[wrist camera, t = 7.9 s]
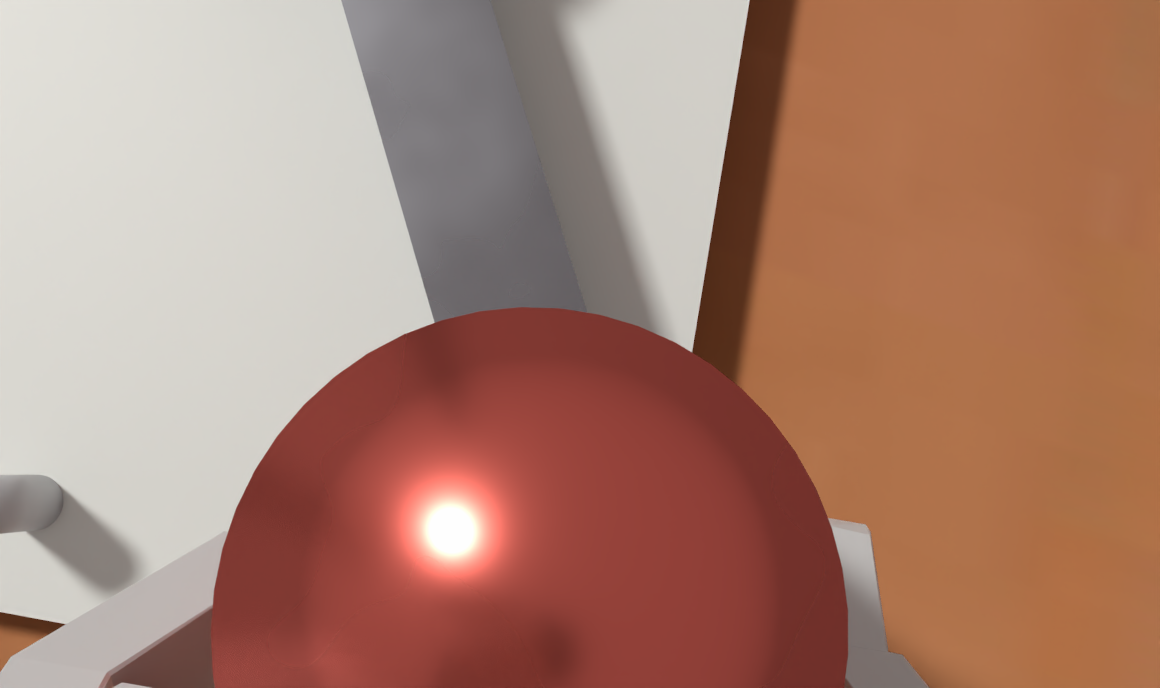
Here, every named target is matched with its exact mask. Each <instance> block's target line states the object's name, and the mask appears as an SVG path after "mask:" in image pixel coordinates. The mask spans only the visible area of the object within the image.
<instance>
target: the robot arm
mask: <svg viewBox="0 0 1160 688" xmlns="http://www.w3.org/2000/svg"><path fill="white" fill-rule="evenodd" d="M828 520H829V522H830V525H831V527H832V531H833V534H834V538H835V542H836V546H837V550H838V553H839V557H840V561H841V565H842V569H843V576H844V584H845V591H846V599H847V606H848V660H847V668H846V676H845V684H844V688H929V687H928V685H927V684H926V683H925V682H924V680H923V679H922V678H921V677H920V676H919V674H918V673H917V672H916V671H915V669H914V668H913V667H912V666H911V664H910V663H909V662H908V661H907V660H906V658H905V657H904V656H903V655H901V654H896V653H891V652H888V646H887V639H886V632H885V625H884V619H883V612H882V605H881V598H880V591H879V585H878V578H877V571H876V564H875V557H874V551H873V544H872V537H871V532H870V530H869V529H868V527H867V526H866V524H860V523H854V522H848V521H842V520H836V519H830V518H828ZM227 534H228V532H226V531H223V532H222V533H220V534H218V535H217V536H215V537H213V538H211V539H210V540H208V541H206V542H205V543H203V544H201V545H200V546H198V547H196V548H194V549H193V550H191V551H189V552H188V553H186V554H184V555H183V556H181V557H179V558H178V559H176V560H174V561H172V562H171V563H169V564H167V565H166V566H164V567H162V568H161V569H159V570H157V571H156V572H154V573H152V574H150V575H149V576H147V577H145V578H144V579H142V580H140V581H139V582H137V583H135V584H133V585H132V586H130V587H128V588H127V589H125V590H123V591H122V592H120V593H118V594H117V595H115V596H113V597H111V598H110V599H108V600H106V601H105V602H103V603H101V604H100V605H98V606H96V607H95V608H93V609H91V610H89V611H88V612H86V613H84V614H83V615H81V616H79V617H78V618H76V619H74V620H72V621H71V622H69V623H67V624H66V625H64V626H62V627H61V628H59V629H57V630H56V631H54V632H52V633H50V634H49V635H47V636H45V637H44V638H42V639H40V640H39V641H37V642H35V643H34V644H32V645H30V646H28V647H27V648H25V649H23V650H22V651H20V652H18V653H17V654H15V655H13V656H11V658H10V659H9V660H8V662H7V663H6V665H5V666H4V668H3V669H2V671H1V672H0V688H215V685H214V680H213V670H212V650H211V621H212V608H213V595H214V587H215V582H216V577H217V573H218V568H219V563H220V558H221V553H222V548H223V545H224V542H225V539H226V537H227Z"/></svg>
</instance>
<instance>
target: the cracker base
mask: <svg viewBox="0 0 1160 688" xmlns="http://www.w3.org/2000/svg"><path fill="white" fill-rule="evenodd" d="M490 1H491V4H492V7H493V10H494V13H495V17H496V20H497V23H498V26H499V30H500V33H501V36H502V39H503V42H504V46H505V49H506V52H507V55H508V59H509V62H510V65H511V68H512V71H513V75H514V78H515V81H516V84H517V88H518V91H519V94H520V97H521V100H522V104H523V107H524V110H525V113H526V117H527V120H528V123H529V126H530V129H531V133H532V136H533V139H534V142H535V146H536V149H537V152H538V155H539V158H540V162H541V165H542V168H543V171H544V175H545V178H546V181H547V184H548V187H549V191H550V194H551V197H552V200H553V204H554V207H555V210H556V213H557V216H558V220H559V223H560V226H561V229H562V233H563V236H564V239H565V242H566V245H567V249H568V252H569V255H570V258H571V262H572V265H573V268H574V271H575V274H576V278H577V281H578V284H579V287H580V291H581V294H582V297H583V300H584V303H585V307H586V310H587V313H593V314H599V315H603V316H606V317H609V318H613V319H616V320H620V321H623V322H626V323H630V324H633V325H637V326H639V327H642V328H644V329H646V330H648V331H651V332H653V333H655V334H657V335H660V336H662V337H664V338H667V339H669V340H671V341H673V342H675V343H677V344H679V345H680V346H682V347H684V348H685V349H687V350H689V351H690V352H692V350H693V343H694V337H695V331H696V325H697V319H698V313H699V307H700V301H701V295H702V288H703V282H704V276H705V270H706V264H707V258H708V252H709V246H710V240H711V233H712V227H713V221H714V215H715V209H716V203H717V197H718V191H719V184H720V178H721V172H722V166H723V160H724V154H725V148H726V142H727V136H728V129H729V123H730V117H731V111H732V105H733V99H734V93H735V87H736V81H737V74H738V68H739V62H740V56H741V50H742V44H743V38H744V32H745V26H746V19H747V13H748V7H749V1H750V0H490ZM433 323H435V322H434V319H433V316H432V312H431V309H430V305H429V302H428V298H427V295H426V291H425V288H424V284H423V281H422V278H421V274H420V271H419V267H418V264H417V260H416V257H415V253H414V250H413V246H412V243H411V240H410V236H409V233H408V229H407V226H406V222H405V219H404V215H403V212H402V208H401V205H400V202H399V198H398V195H397V191H396V188H395V184H394V181H393V177H392V174H391V170H390V167H389V163H388V160H387V157H386V153H385V150H384V146H383V143H382V139H381V136H380V132H379V129H378V125H377V122H376V119H375V115H374V112H373V108H372V105H371V101H370V98H369V94H368V91H367V87H366V84H365V81H364V77H363V74H362V70H361V67H360V63H359V60H358V56H357V53H356V49H355V46H354V43H353V39H352V36H351V32H350V29H349V25H348V22H347V18H346V15H345V11H344V8H343V5H342V1H341V0H0V612H3V613H9V614H14V615H19V616H25V617H30V618H35V619H41V620H46V621H52V622H57V623H62V624H67V623H69V622H71V621H72V620H74V619H76V618H78V617H79V616H81V615H83V614H84V613H86V612H88V611H89V610H91V609H93V608H95V607H96V606H98V605H100V604H101V603H103V602H105V601H106V600H108V599H110V598H111V597H113V596H115V595H117V594H118V593H120V592H122V591H123V590H125V589H127V588H128V587H130V586H132V585H133V584H135V583H137V582H139V581H140V580H142V579H144V578H145V577H147V576H149V575H150V574H152V573H154V572H156V571H157V570H159V569H161V568H162V567H164V566H166V565H167V564H169V563H171V562H172V561H174V560H176V559H178V558H179V557H181V556H183V555H184V554H186V553H188V552H189V551H191V550H193V549H194V548H196V547H198V546H200V545H201V544H203V543H205V542H206V541H208V540H210V539H211V538H213V537H215V536H217V535H218V534H220V533H222V532H223V531H226V532H228V531H229V528H230V525H231V522H232V519H233V516H234V513H235V510H236V508H237V506H238V503H239V501H240V499H241V497H242V495H243V493H244V491H245V489H246V487H247V485H248V483H249V481H250V479H251V477H252V475H253V473H254V471H255V469H256V468H257V466H258V465H259V463H260V462H261V460H262V458H263V457H264V455H265V454H266V452H267V451H268V449H269V448H270V446H271V445H272V443H273V442H274V440H275V439H276V437H277V436H278V434H279V433H280V432H281V431H282V430H283V429H284V427H285V426H286V425H287V424H288V423H289V422H290V420H291V419H292V418H293V417H294V416H295V414H296V413H297V412H298V411H299V410H300V409H301V407H302V406H303V405H304V404H305V403H306V402H307V401H308V400H309V399H311V398H312V397H313V396H314V395H315V394H316V393H317V392H318V391H319V390H320V389H322V388H323V387H324V386H325V385H326V384H327V383H328V382H329V381H330V380H331V379H333V378H334V377H335V376H336V375H338V374H339V373H340V372H342V371H343V370H345V369H346V368H348V367H349V366H350V365H352V364H353V363H355V362H356V361H358V360H359V359H360V358H362V357H363V356H365V355H366V354H368V353H369V352H371V351H373V350H375V349H377V348H379V347H381V346H383V345H385V344H386V343H388V342H390V341H392V340H394V339H396V338H398V337H400V336H402V335H403V334H406V333H409V332H411V331H414V330H417V329H419V328H422V327H425V326H428V325H430V324H433Z"/></svg>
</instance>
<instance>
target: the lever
mask: <svg viewBox="0 0 1160 688" xmlns="http://www.w3.org/2000/svg"><path fill="white" fill-rule="evenodd" d="M341 1H342V5H343V8H344V11H345V15H346V18H347V22H348V25H349V29H350V32H351V36H352V39H353V43H354V46H355V49H356V53H357V56H358V60H359V63H360V67H361V70H362V74H363V77H364V81H365V84H366V87H367V91H368V94H369V98H370V101H371V105H372V108H373V112H374V115H375V119H376V122H377V125H378V129H379V132H380V136H381V139H382V143H383V146H384V150H385V153H386V157H387V160H388V163H389V167H390V170H391V174H392V177H393V181H394V184H395V188H396V191H397V195H398V198H399V202H400V205H401V208H402V212H403V215H404V219H405V222H406V226H407V229H408V233H409V236H410V240H411V243H412V246H413V250H414V253H415V257H416V260H417V264H418V267H419V271H420V274H421V278H422V281H423V284H424V288H425V291H426V295H427V298H428V302H429V305H430V309H431V312H432V316H433V319H434V322H435V323H433V324H430V325H428V326H425V327H422V328H419V329H417V330H414V331H411V332H409V333H406V334H403V335H402V336H400V337H398V338H396V339H394V340H392V341H390V342H388V343H386V344H385V345H383V346H381V347H379V348H377V349H375V350H373V351H371V352H369V353H368V354H366V355H365V356H363V357H362V358H360V359H359V360H358V361H356V362H355V363H353V364H352V365H350V366H349V367H348V368H346V369H345V370H343V371H342V372H340V373H339V374H338V375H336V376H335V377H334V378H333V379H331V380H330V381H329V382H328V383H327V384H326V385H325V386H324V387H323V388H322V389H320V390H319V391H318V392H317V393H316V394H315V395H314V396H313V397H312V398H311V399H309V400H308V401H307V402H306V403H305V404H304V405H303V406H302V407H301V409H300V410H299V411H298V412H297V413H296V414H295V416H294V417H293V418H292V419H291V420H290V422H289V423H288V424H287V425H286V426H285V427H284V429H283V430H282V431H281V432H280V433H279V434H278V436H277V437H276V439H275V440H274V442H273V443H272V445H271V446H270V448H269V449H268V451H267V452H266V454H265V455H264V457H263V458H262V460H261V462H260V463H259V465H258V466H257V468H256V469H255V471H254V473H253V475H252V477H251V479H250V481H249V483H248V485H247V487H246V489H245V491H244V493H243V495H242V497H241V499H240V501H239V503H238V506H237V508H236V510H235V513H234V516H233V519H232V522H231V525H230V528H229V531H228V534H227V537H226V539H225V542H224V545H223V548H222V553H221V558H220V563H219V568H218V573H217V577H216V582H215V587H214V595H213V608H212V621H211V650H212V670H213V680H214V685H215V688H844V684H845V676H846V668H847V660H848V606H847V599H846V591H845V584H844V576H843V569H842V565H841V561H840V557H839V553H838V550H837V546H836V542H835V538H834V534H833V531H832V527H831V525H830V522H829V520H828V517H827V515H826V512H825V510H824V507H823V505H822V502H821V500H820V497H819V495H818V493H817V490H816V488H815V486H814V484H813V482H812V481H811V479H810V477H809V475H808V474H807V472H806V470H805V468H804V466H803V465H802V463H801V461H800V459H799V458H798V456H797V454H796V452H795V451H794V449H793V448H792V447H791V445H790V444H789V443H788V441H787V440H786V439H785V437H784V436H783V435H782V433H781V432H780V431H779V429H778V428H777V427H776V425H775V424H774V423H773V421H772V420H771V419H770V418H769V417H768V415H767V414H766V413H765V412H764V411H763V410H762V409H761V408H760V407H759V406H758V405H757V404H756V403H755V402H754V401H753V400H752V399H751V398H750V397H749V396H748V395H747V394H746V393H745V392H744V391H743V390H742V389H741V388H740V387H739V386H738V385H736V384H735V383H734V382H733V381H731V380H730V379H729V378H728V377H726V376H725V375H724V374H723V373H721V372H720V371H719V370H718V369H716V368H715V367H714V366H713V365H711V364H710V363H708V362H707V361H705V360H703V359H702V358H700V357H699V356H697V355H695V354H694V353H692V352H690V351H689V350H687V349H685V348H684V347H682V346H680V345H679V344H677V343H675V342H673V341H671V340H669V339H667V338H664V337H662V336H660V335H657V334H655V333H653V332H651V331H648V330H646V329H644V328H642V327H639V326H637V325H633V324H630V323H626V322H623V321H620V320H616V319H613V318H609V317H606V316H603V315H599V314H593V313H587V310H586V307H585V303H584V300H583V297H582V294H581V291H580V287H579V284H578V281H577V278H576V274H575V271H574V268H573V265H572V262H571V258H570V255H569V252H568V249H567V245H566V242H565V239H564V236H563V233H562V229H561V226H560V223H559V220H558V216H557V213H556V210H555V207H554V204H553V200H552V197H551V194H550V191H549V187H548V184H547V181H546V178H545V175H544V171H543V168H542V165H541V162H540V158H539V155H538V152H537V149H536V146H535V142H534V139H533V136H532V133H531V129H530V126H529V123H528V120H527V117H526V113H525V110H524V107H523V104H522V100H521V97H520V94H519V91H518V88H517V84H516V81H515V78H514V75H513V71H512V68H511V65H510V62H509V59H508V55H507V52H506V49H505V46H504V42H503V39H502V36H501V33H500V30H499V26H498V23H497V20H496V17H495V13H494V10H493V7H492V4H491V1H490V0H341Z"/></svg>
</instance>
